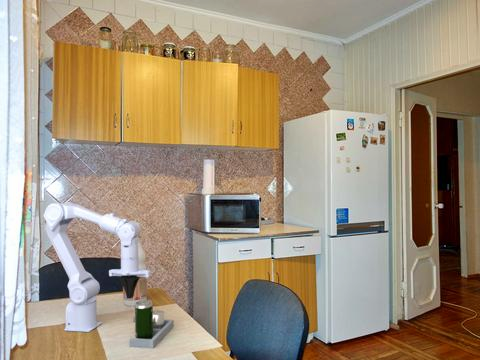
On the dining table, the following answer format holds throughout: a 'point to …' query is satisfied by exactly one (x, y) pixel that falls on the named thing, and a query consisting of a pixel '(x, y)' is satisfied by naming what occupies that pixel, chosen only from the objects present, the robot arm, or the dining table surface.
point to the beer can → (144, 319)
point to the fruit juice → (141, 286)
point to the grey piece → (157, 336)
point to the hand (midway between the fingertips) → (130, 297)
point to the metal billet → (158, 319)
